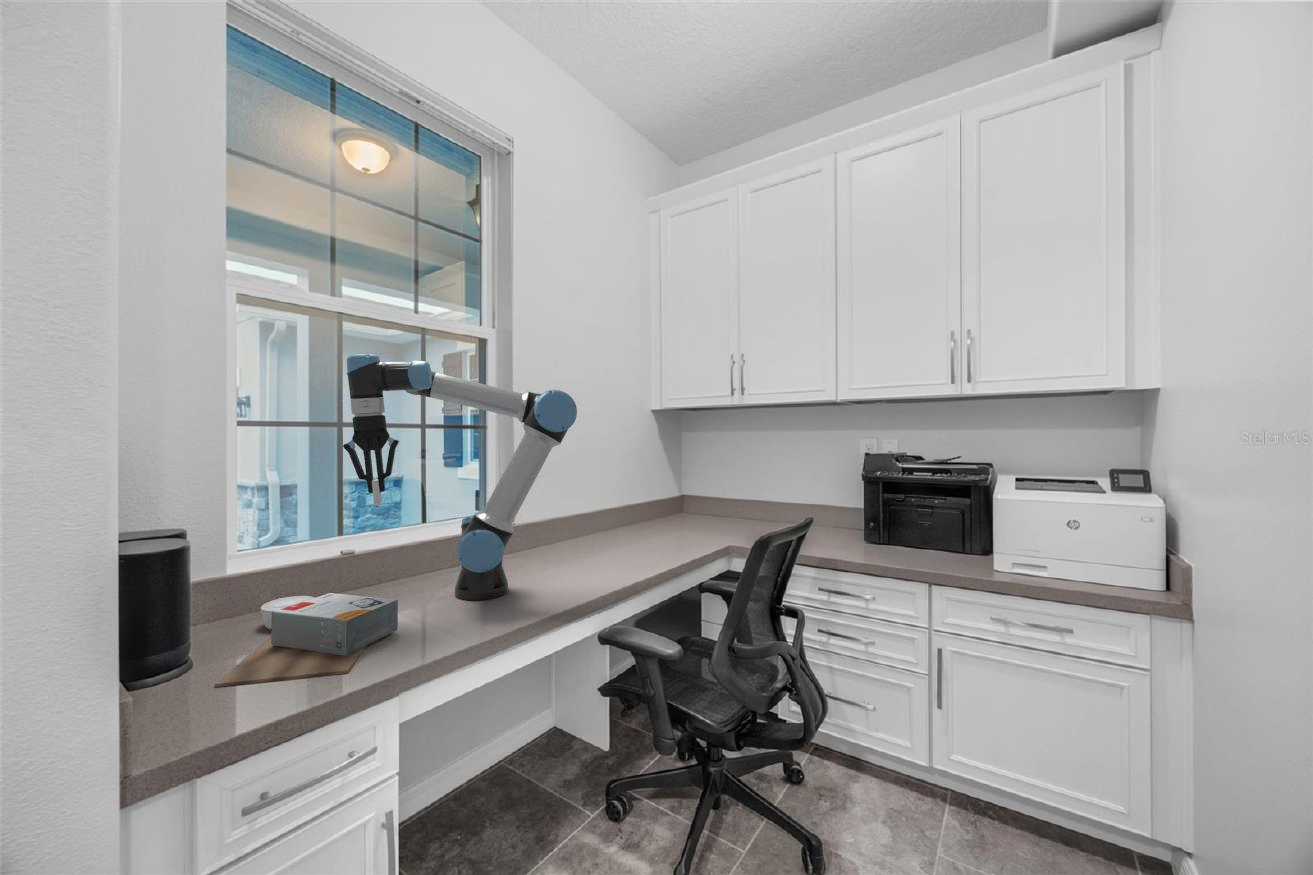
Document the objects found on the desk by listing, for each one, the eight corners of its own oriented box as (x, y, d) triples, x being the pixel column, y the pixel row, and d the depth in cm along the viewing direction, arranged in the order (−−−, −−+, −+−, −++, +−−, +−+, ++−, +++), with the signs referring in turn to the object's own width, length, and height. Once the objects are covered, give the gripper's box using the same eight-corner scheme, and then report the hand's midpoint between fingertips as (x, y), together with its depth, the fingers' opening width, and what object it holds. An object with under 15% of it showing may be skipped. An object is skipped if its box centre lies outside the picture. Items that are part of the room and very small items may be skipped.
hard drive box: (346, 620, 108) (269, 612, 113) (346, 656, 108) (269, 647, 113) (399, 598, 123) (329, 592, 128) (398, 630, 123) (329, 623, 128)
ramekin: (270, 635, 121) (270, 613, 121) (253, 625, 127) (253, 604, 127) (323, 622, 130) (323, 601, 130) (304, 612, 136) (304, 592, 136)
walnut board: (377, 629, 125) (377, 626, 125) (348, 673, 102) (348, 670, 102) (271, 638, 119) (271, 635, 119) (214, 687, 96) (214, 684, 96)
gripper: (336, 417, 128) (347, 510, 130) (394, 413, 133) (404, 503, 135) (343, 416, 135) (353, 505, 137) (398, 413, 140) (407, 499, 142)
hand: (378, 504), depth 136 cm, fingers closed
